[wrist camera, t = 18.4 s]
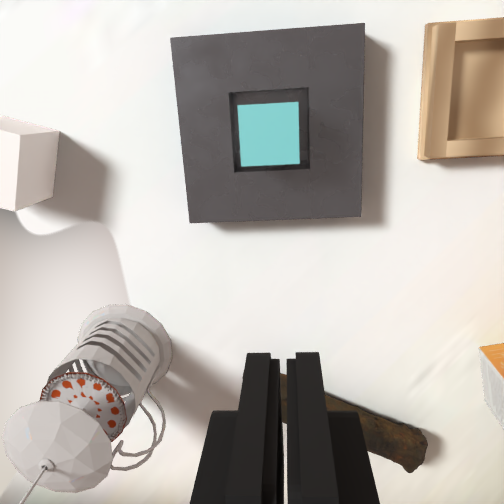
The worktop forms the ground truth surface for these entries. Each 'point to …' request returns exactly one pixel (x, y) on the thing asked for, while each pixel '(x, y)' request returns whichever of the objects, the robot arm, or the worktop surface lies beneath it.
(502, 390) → the small box
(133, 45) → the worktop surface
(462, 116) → the wooden square tray
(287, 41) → the port panel
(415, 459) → the hand tool
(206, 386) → the worktop surface
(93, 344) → the french press
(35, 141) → the white cube
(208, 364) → the worktop surface
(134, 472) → the worktop surface
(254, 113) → the plug
